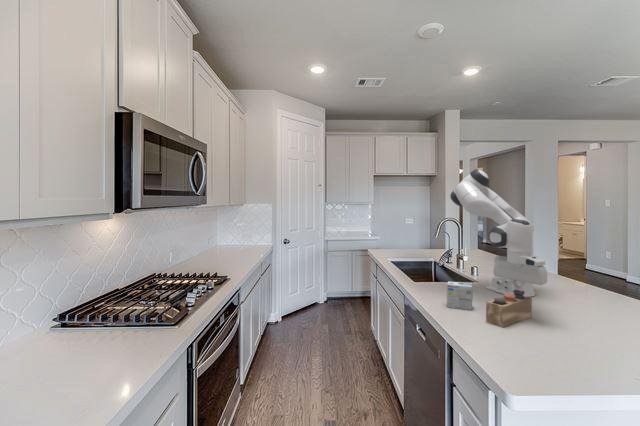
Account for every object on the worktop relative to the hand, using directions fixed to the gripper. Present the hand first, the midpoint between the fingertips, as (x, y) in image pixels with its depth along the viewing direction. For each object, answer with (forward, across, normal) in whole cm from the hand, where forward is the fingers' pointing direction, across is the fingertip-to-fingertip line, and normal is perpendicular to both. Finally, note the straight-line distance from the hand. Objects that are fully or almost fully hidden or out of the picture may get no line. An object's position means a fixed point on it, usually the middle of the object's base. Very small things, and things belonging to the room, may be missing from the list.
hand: (518, 290), depth 135 cm
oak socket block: (+11, 0, -7) cm, 13 cm away
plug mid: (+9, 0, -7) cm, 11 cm away
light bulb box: (+11, -20, -10) cm, 25 cm away
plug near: (+9, 0, -14) cm, 17 cm away
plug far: (+8, 0, 0) cm, 8 cm away
